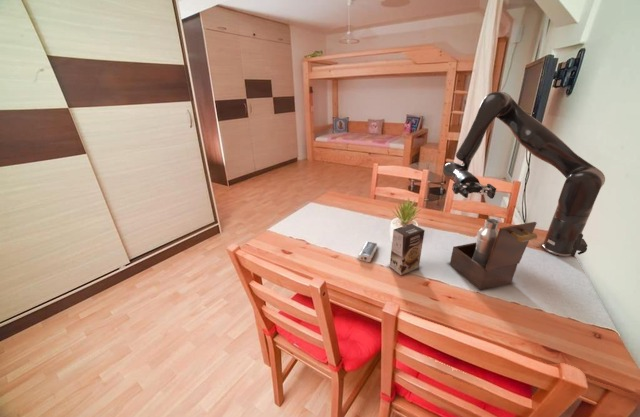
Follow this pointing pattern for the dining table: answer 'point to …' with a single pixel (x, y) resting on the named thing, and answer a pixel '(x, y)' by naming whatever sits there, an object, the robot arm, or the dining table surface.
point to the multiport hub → (368, 251)
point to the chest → (479, 268)
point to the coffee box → (406, 248)
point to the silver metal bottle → (485, 242)
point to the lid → (510, 245)
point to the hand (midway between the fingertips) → (479, 195)
